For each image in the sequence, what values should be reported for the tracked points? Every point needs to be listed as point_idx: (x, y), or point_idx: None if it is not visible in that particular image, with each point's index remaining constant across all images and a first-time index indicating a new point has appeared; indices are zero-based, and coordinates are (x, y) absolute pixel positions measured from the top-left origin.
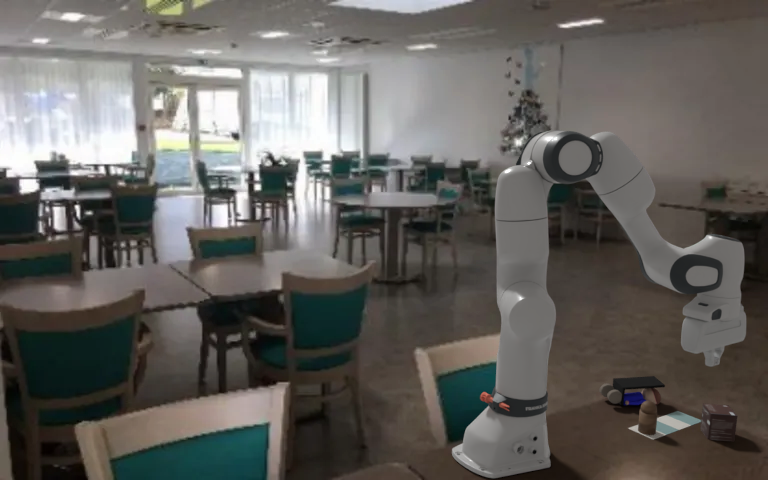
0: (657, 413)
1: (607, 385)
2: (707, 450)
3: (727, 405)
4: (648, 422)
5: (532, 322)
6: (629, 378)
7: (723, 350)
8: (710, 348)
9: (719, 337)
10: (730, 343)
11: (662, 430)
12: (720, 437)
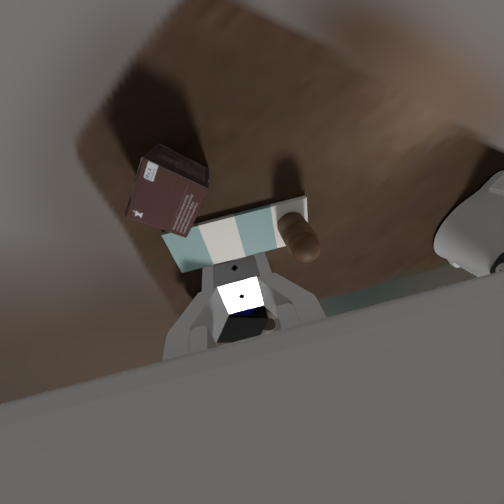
0: (294, 234)
1: (269, 330)
2: (235, 138)
3: (129, 215)
4: (308, 224)
5: None
6: (234, 340)
7: (175, 329)
8: (410, 307)
9: (327, 443)
10: (104, 383)
11: (263, 221)
12: (186, 159)
